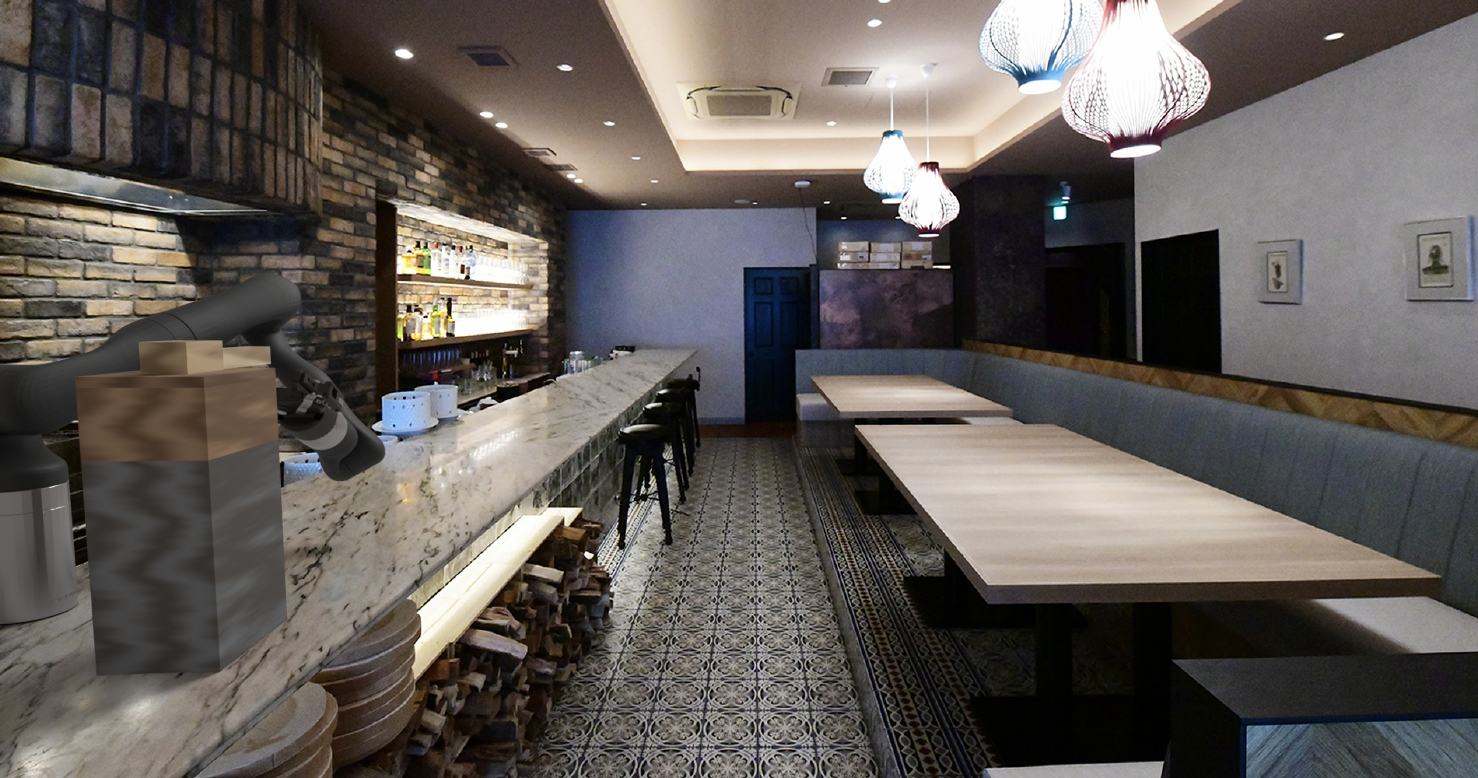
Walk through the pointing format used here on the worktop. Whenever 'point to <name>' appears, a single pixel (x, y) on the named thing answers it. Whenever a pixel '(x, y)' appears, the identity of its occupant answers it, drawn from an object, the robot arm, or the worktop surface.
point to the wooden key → (197, 356)
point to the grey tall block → (181, 517)
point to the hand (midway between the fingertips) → (265, 375)
